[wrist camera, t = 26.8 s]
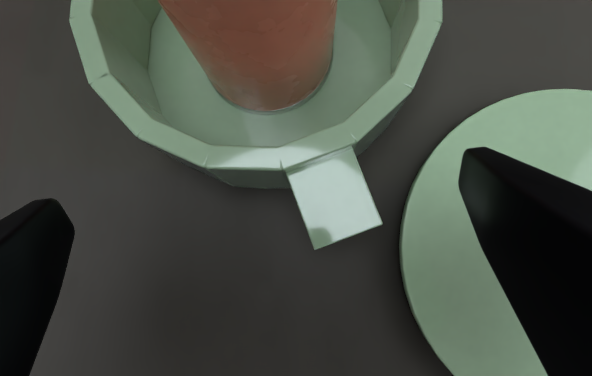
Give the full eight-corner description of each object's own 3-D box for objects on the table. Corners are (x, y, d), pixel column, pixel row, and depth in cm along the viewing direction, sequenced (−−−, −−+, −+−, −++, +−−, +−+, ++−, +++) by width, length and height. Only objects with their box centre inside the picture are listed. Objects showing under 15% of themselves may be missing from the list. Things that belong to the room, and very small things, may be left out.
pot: (326, -149, 19) (331, -284, 14) (475, 186, 17) (543, 165, 12) (89, -61, 19) (11, -165, 14) (204, 288, 17) (158, 310, 12)
